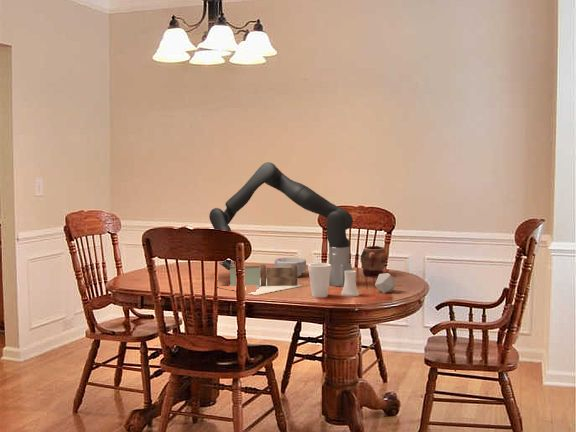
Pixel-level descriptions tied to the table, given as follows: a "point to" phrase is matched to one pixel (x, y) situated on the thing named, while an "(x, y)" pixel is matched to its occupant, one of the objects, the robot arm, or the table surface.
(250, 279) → the green rectangular panel
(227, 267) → the robot arm
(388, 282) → the die
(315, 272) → the foam cup
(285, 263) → the paper bowls
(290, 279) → the fence post and fixed section
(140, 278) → the table surface
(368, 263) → the decorative planter
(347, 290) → the salt shaker
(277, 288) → the card
